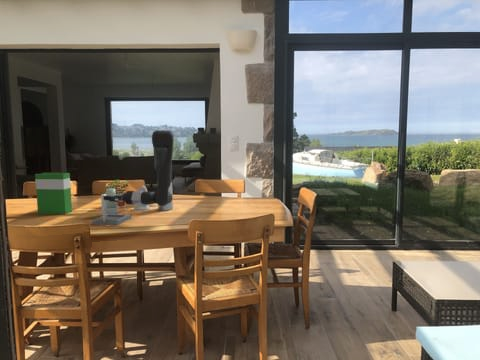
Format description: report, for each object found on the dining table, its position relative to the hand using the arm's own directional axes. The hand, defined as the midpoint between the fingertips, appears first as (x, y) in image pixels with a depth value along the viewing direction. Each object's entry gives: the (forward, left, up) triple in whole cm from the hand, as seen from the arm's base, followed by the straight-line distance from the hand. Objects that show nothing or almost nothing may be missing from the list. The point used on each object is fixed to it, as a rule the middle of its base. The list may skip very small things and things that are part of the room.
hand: (106, 197), depth 219 cm
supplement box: (-14, -6, -14) cm, 21 cm away
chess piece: (-34, +5, -14) cm, 37 cm away
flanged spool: (0, +3, -6) cm, 7 cm away
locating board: (0, +3, -14) cm, 14 cm away
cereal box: (-15, -43, -14) cm, 48 cm away
